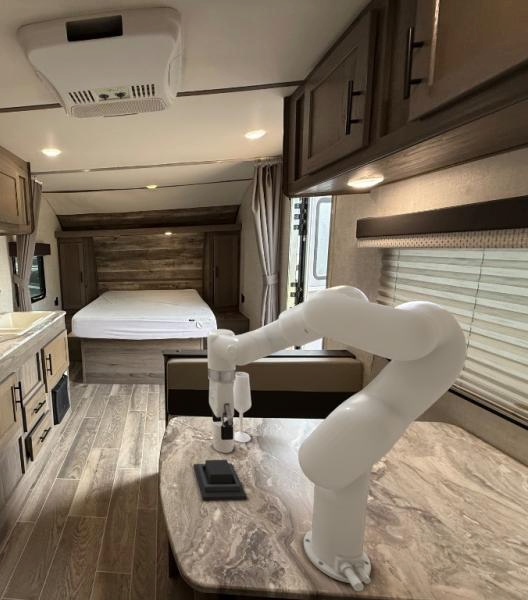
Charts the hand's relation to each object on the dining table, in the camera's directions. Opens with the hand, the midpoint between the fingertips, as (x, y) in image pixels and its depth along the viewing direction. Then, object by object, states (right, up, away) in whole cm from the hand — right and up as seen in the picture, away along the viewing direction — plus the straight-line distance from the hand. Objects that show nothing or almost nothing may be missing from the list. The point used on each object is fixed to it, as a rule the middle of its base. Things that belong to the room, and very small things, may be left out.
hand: (222, 429), depth 95 cm
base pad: (0, -17, +2) cm, 17 cm away
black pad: (0, -16, +2) cm, 16 cm away
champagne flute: (+14, -13, +25) cm, 31 cm away
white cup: (+6, -14, +19) cm, 24 cm away
